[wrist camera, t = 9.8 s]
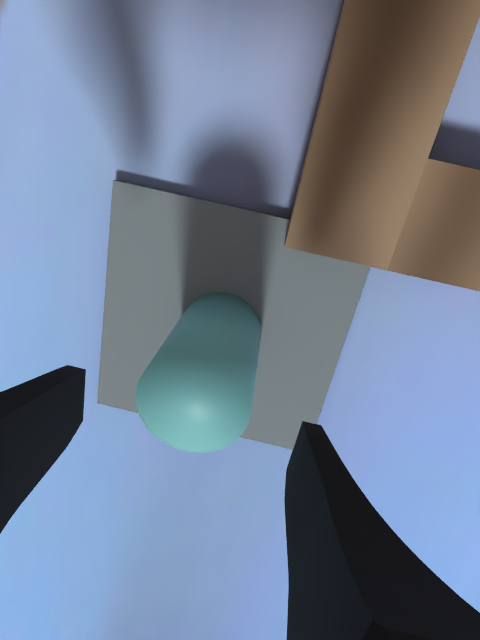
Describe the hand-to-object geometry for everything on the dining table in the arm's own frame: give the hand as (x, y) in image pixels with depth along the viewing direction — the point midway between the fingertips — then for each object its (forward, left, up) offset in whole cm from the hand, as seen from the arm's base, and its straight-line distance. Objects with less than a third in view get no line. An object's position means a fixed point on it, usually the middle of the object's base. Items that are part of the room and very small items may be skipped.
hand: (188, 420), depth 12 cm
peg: (0, 0, -7) cm, 7 cm away
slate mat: (0, 0, -8) cm, 8 cm away
